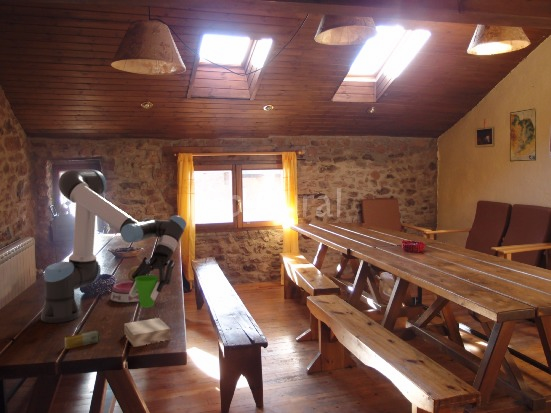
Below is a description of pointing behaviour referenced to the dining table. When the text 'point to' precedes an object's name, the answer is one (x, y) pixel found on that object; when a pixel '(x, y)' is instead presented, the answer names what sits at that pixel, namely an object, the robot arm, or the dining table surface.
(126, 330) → the birch block
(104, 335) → the dining table surface
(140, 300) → the cup
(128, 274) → the natural sponge
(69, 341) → the medication box
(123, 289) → the dog bowl
